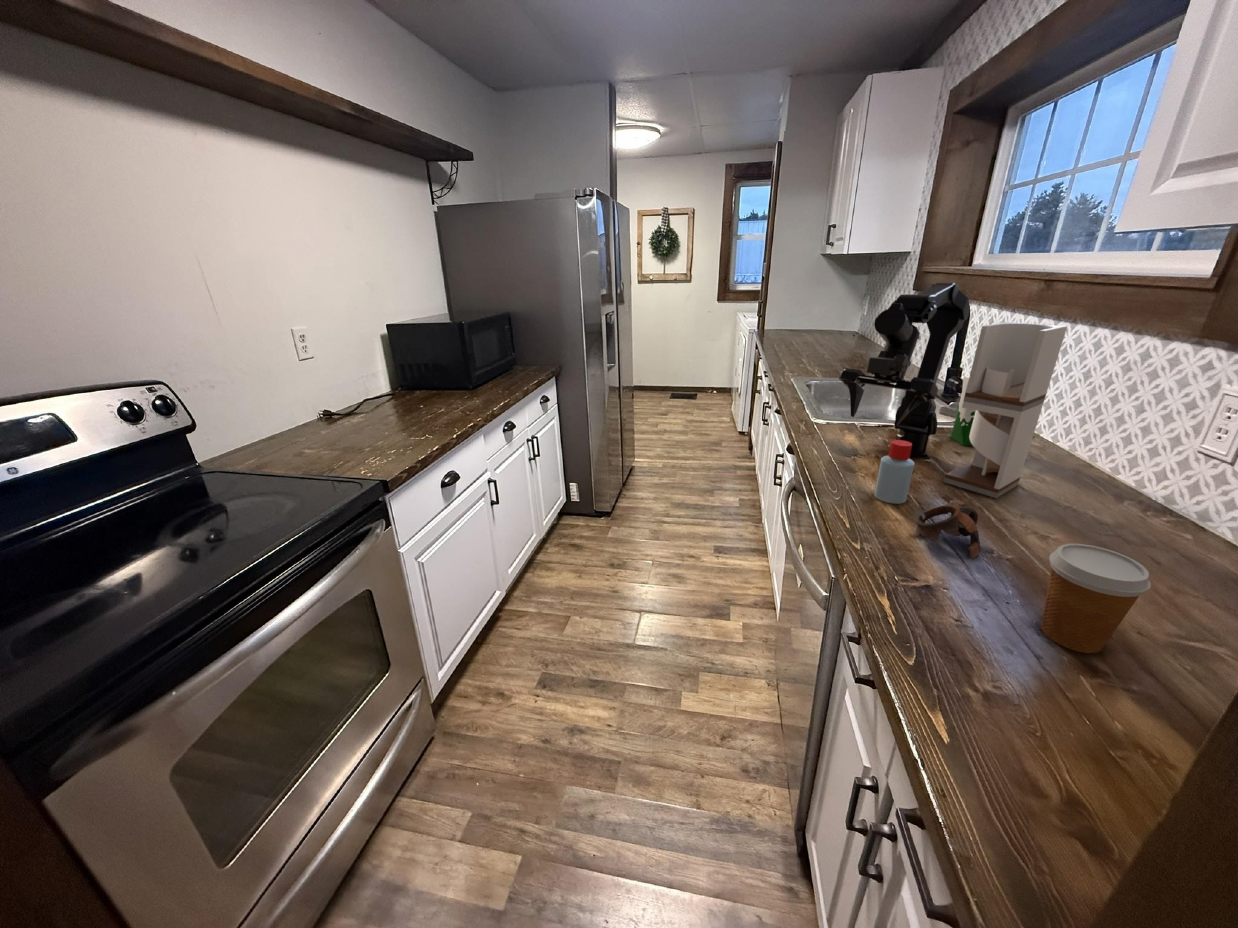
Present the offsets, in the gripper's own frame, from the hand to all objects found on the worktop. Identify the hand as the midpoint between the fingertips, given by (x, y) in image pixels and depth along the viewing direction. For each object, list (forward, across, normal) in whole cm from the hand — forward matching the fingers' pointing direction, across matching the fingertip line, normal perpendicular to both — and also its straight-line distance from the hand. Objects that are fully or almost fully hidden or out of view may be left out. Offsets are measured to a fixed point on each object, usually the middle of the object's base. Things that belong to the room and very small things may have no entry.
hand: (873, 420), depth 108 cm
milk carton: (-8, +8, +52) cm, 54 cm away
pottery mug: (+20, +22, -6) cm, 30 cm away
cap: (+6, +7, +1) cm, 10 cm away
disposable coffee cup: (+27, +41, -20) cm, 53 cm away
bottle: (+15, +7, +5) cm, 17 cm away
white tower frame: (+5, +18, +25) cm, 31 cm away
